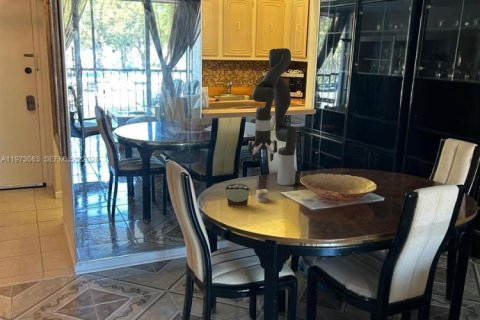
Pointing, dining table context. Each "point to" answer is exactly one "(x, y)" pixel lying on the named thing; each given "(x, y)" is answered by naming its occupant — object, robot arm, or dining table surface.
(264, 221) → the dining table surface
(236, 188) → the food container
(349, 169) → the dining table surface
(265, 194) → the beige cube
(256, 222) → the dining table surface
